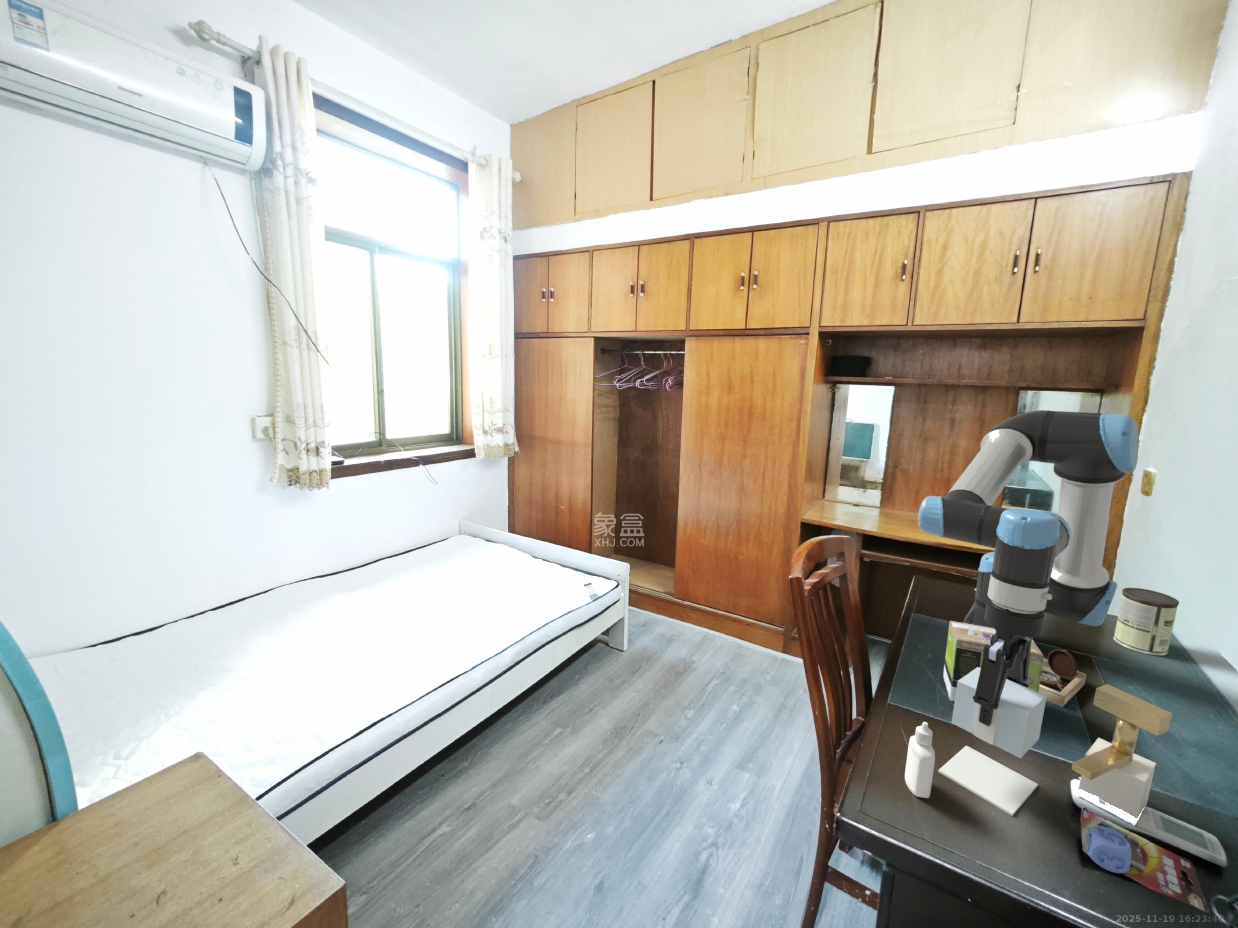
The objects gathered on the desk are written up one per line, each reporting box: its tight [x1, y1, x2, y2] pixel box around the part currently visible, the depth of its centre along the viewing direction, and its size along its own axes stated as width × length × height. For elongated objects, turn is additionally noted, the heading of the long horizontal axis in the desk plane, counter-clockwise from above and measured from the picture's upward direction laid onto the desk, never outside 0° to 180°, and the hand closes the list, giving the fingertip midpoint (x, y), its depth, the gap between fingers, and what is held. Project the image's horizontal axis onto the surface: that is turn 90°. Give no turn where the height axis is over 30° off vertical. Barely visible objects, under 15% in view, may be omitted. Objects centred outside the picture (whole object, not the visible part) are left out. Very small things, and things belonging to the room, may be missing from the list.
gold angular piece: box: [1071, 683, 1173, 780], centre depth 80 cm, size 13×8×10 cm, turn 112°
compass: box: [1040, 648, 1078, 691], centre depth 117 cm, size 8×8×7 cm
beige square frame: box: [1039, 657, 1087, 708], centre depth 119 cm, size 15×15×2 cm
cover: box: [951, 667, 1047, 759], centre depth 86 cm, size 10×8×8 cm
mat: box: [937, 745, 1039, 817], centre depth 89 cm, size 11×11×1 cm
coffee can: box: [1113, 587, 1180, 657], centre depth 134 cm, size 10×10×14 cm
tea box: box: [942, 620, 1044, 702], centre depth 110 cm, size 15×10×15 cm, turn 65°
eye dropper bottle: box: [904, 721, 936, 799], centre depth 86 cm, size 4×6×12 cm
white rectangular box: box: [1078, 737, 1157, 818], centre depth 84 cm, size 7×7×8 cm
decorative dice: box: [1086, 825, 1132, 874], centre depth 74 cm, size 4×4×4 cm
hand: (994, 729), depth 87 cm, fingers closed on cover, 8 cm apart
